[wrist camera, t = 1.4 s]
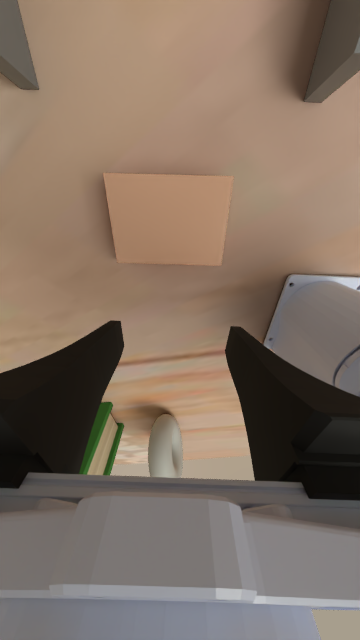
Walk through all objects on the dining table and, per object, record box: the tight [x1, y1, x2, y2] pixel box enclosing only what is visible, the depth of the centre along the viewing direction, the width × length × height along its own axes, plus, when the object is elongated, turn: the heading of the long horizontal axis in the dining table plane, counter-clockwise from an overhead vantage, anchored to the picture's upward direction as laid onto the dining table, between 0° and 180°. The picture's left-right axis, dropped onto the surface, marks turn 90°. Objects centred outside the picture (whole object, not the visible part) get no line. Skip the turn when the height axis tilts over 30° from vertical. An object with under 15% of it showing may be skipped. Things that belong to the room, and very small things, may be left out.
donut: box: [148, 414, 183, 478], centre depth 27 cm, size 10×4×10 cm, turn 15°
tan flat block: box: [103, 173, 234, 266], centre depth 15 cm, size 6×9×3 cm, turn 89°
